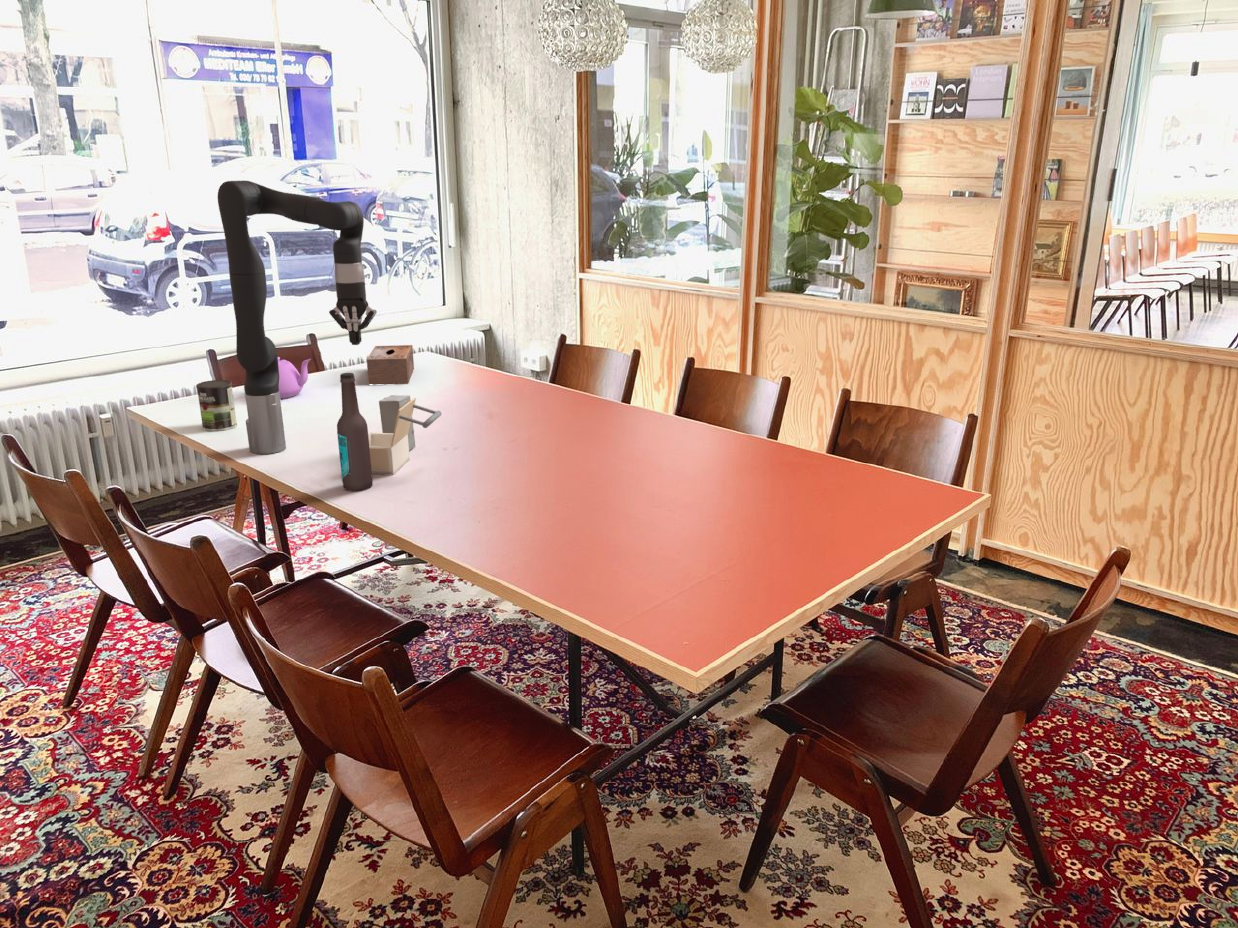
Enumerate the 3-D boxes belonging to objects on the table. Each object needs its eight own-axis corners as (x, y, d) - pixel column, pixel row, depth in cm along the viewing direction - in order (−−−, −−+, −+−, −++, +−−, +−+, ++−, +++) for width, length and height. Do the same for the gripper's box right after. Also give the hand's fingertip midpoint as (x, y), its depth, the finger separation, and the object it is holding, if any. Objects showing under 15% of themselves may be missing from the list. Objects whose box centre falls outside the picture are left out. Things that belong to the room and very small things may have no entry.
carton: (353, 473, 251) (351, 447, 248) (372, 457, 264) (370, 432, 261) (393, 475, 249) (390, 448, 247) (410, 459, 263) (408, 433, 260)
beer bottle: (341, 484, 243) (329, 372, 234) (370, 480, 246) (360, 369, 236) (344, 493, 237) (333, 378, 227) (375, 489, 239) (364, 375, 230)
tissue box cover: (377, 370, 371) (375, 346, 368) (414, 369, 373) (412, 345, 370) (368, 385, 347) (366, 359, 344) (408, 384, 348) (406, 358, 345)
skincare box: (405, 455, 266) (400, 401, 261) (381, 453, 268) (377, 400, 263) (416, 446, 274) (412, 394, 269) (394, 445, 275) (389, 393, 270)
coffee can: (220, 433, 288) (214, 388, 284) (195, 429, 292) (188, 385, 287) (244, 424, 297) (239, 381, 293) (220, 421, 301) (213, 378, 296)
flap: (398, 410, 244) (428, 419, 244) (414, 397, 256) (443, 407, 256) (390, 445, 247) (420, 455, 247) (406, 432, 259) (435, 441, 259)
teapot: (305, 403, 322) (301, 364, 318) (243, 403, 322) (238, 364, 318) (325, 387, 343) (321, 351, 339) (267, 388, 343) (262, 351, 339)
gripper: (320, 281, 243) (326, 346, 249) (368, 282, 242) (374, 347, 247) (331, 277, 250) (338, 341, 256) (379, 278, 249) (384, 342, 254)
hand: (356, 344), depth 252 cm, fingers closed
